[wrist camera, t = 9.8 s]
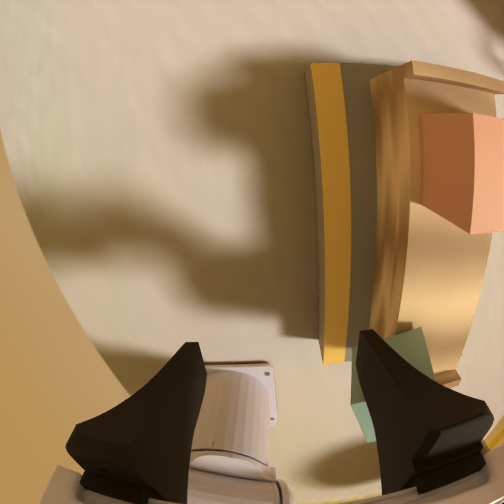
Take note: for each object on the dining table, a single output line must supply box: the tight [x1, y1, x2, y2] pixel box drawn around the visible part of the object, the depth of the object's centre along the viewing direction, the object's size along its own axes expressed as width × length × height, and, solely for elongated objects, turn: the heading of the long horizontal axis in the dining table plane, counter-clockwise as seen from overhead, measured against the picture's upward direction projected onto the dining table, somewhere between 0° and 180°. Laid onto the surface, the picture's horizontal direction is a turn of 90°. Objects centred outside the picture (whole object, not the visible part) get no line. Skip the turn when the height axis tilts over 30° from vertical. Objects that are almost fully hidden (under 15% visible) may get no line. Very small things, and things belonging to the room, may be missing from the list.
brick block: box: [418, 113, 504, 234], centre depth 9 cm, size 4×4×4 cm
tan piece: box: [369, 61, 504, 388], centre depth 14 cm, size 18×6×6 cm, turn 6°
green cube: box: [351, 327, 435, 443], centre depth 13 cm, size 4×4×4 cm
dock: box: [304, 63, 396, 365], centre depth 18 cm, size 20×12×3 cm, turn 6°
